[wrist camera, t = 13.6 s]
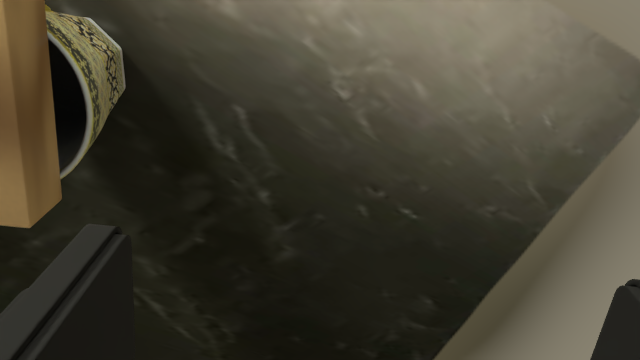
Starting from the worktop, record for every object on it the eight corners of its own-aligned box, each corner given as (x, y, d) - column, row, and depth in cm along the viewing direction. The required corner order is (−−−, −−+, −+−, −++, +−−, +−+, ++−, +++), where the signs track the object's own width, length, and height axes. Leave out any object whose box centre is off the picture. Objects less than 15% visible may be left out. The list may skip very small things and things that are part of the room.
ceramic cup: (157, 138, 39) (102, 195, 30) (18, 132, 39) (-79, 187, 30) (141, -60, 34) (69, -64, 25) (-18, -66, 34) (-148, -73, 25)
